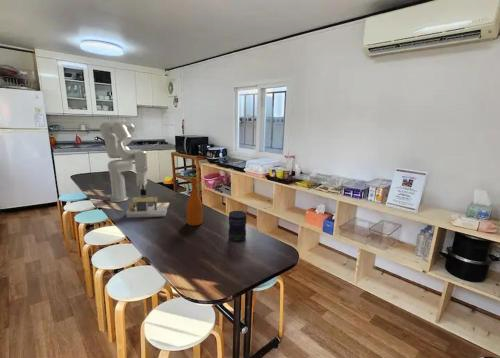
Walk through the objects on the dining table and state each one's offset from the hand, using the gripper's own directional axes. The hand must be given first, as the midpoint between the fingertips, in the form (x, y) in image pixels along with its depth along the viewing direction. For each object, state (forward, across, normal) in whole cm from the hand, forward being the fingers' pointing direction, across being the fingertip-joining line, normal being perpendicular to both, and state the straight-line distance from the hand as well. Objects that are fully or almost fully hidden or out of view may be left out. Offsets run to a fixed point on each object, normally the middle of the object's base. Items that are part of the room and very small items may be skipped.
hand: (143, 195), depth 172 cm
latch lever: (+3, +6, +2) cm, 7 cm away
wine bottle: (+13, +24, +35) cm, 44 cm away
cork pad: (+12, -10, +9) cm, 18 cm away
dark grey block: (+8, +6, 0) cm, 10 cm away
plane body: (+12, +6, +3) cm, 14 cm away
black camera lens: (+13, +48, +59) cm, 77 cm away
